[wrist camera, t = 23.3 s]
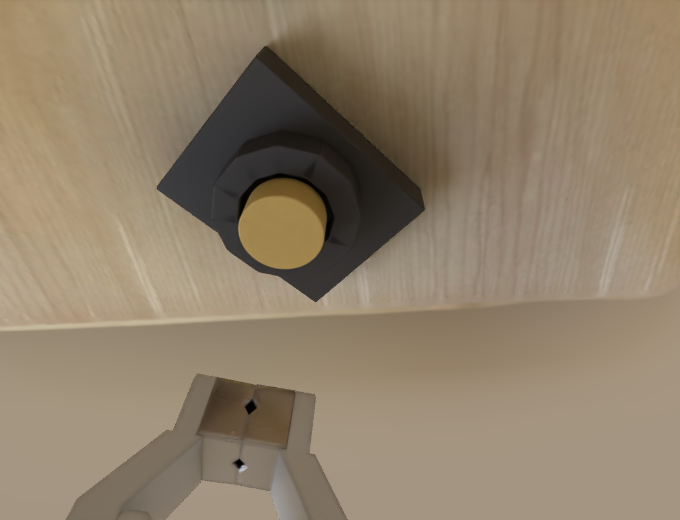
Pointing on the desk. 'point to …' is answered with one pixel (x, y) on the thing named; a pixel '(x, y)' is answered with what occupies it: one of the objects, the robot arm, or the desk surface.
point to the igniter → (292, 172)
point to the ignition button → (283, 223)
